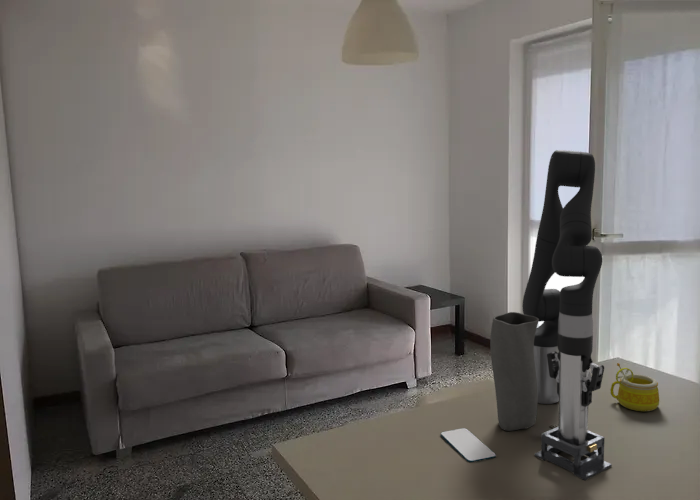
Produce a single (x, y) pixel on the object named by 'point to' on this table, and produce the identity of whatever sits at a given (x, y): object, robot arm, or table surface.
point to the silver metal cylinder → (572, 401)
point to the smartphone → (467, 445)
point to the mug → (636, 391)
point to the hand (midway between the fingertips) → (573, 400)
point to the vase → (514, 369)
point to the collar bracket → (575, 454)
